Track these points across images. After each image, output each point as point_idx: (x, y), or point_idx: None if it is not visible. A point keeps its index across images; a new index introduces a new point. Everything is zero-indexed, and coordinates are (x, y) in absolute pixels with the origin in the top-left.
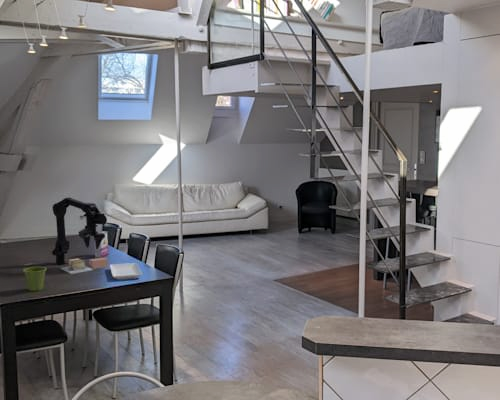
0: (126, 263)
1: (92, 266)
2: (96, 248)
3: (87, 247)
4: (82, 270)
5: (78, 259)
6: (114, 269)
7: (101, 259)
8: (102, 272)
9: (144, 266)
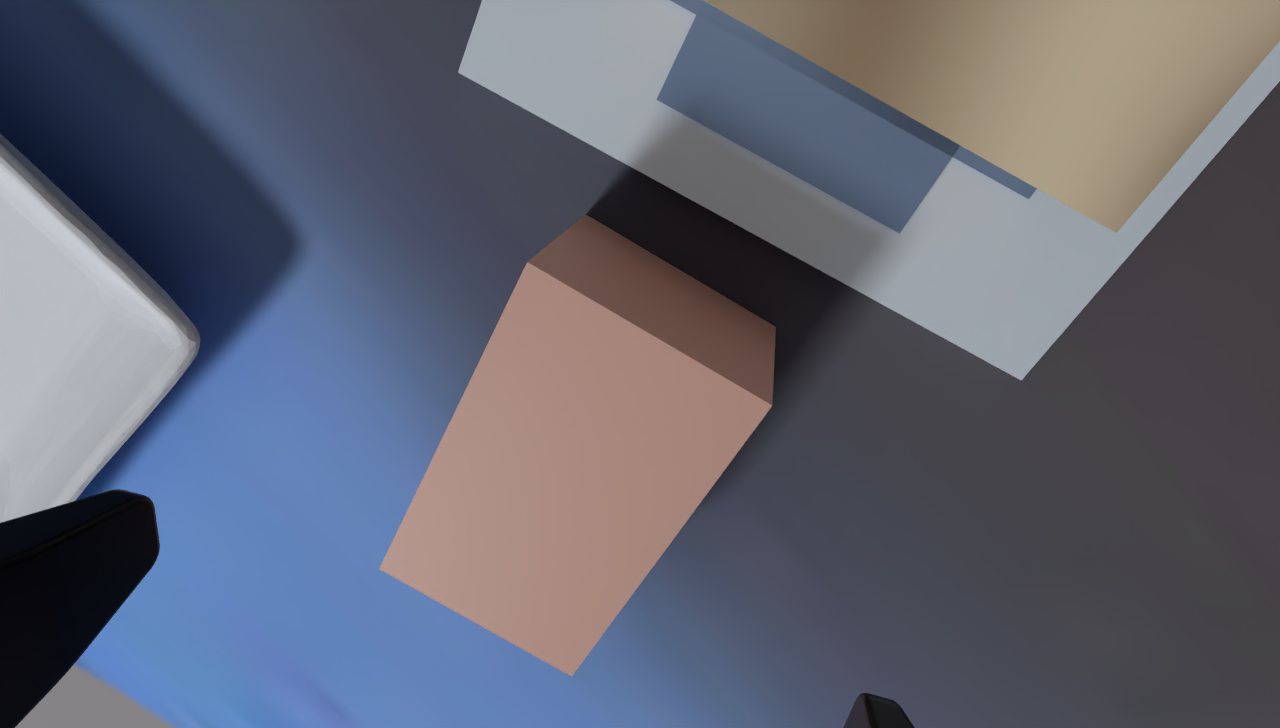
0: None
1: (606, 244)
2: (87, 499)
3: (857, 710)
4: None
5: (984, 67)
6: (11, 190)
7: (475, 495)
8: (157, 5)
9: None
